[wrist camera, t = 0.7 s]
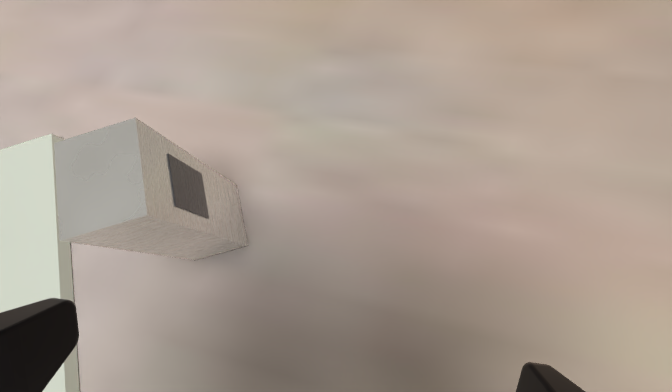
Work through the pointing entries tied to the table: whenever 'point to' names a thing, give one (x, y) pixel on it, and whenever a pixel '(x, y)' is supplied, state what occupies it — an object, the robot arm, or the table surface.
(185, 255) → the block
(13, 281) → the pin tray
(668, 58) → the table surface
